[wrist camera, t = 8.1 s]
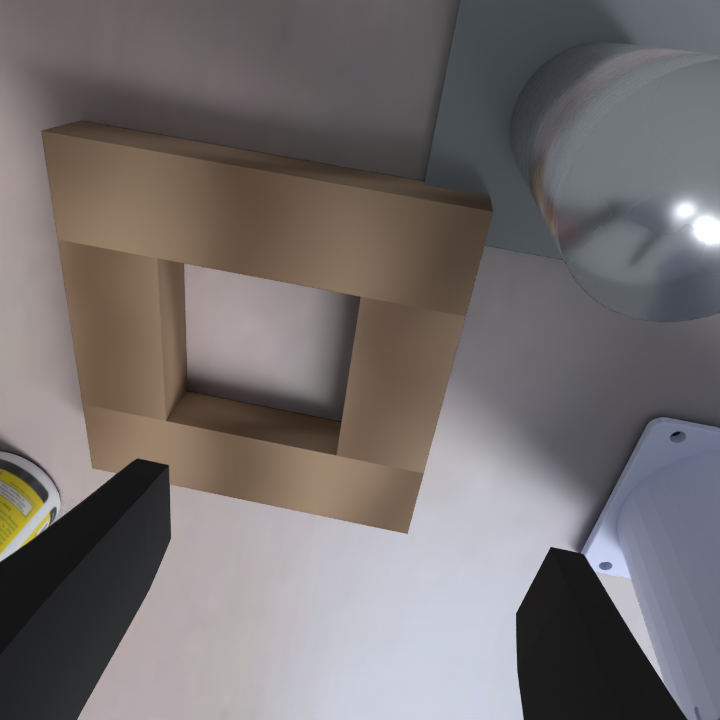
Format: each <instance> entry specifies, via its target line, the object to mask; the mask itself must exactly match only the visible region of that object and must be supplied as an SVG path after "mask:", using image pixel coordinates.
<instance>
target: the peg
mask: <svg viewBox="0 0 720 720" xmlns="http://www.w3.org/2000/svg"><path fill="white" fill-rule="evenodd" d="M510 143H511V149H512V153H513V156H514V159H515V162H516V164H517V166H518V168H519V170H520V172H521V174H522V176H523V178H524V180H525V182H526V184H527V186H528V188H529V190H530V192H531V194H532V196H533V198H534V200H535V202H536V204H537V206H538V208H539V210H540V212H541V214H542V216H543V218H544V220H545V222H546V224H547V227H548V229H549V231H550V233H551V235H552V237H553V239H554V241H555V243H556V245H557V247H558V249H559V251H560V253H561V255H562V257H563V259H564V261H565V263H566V265H567V267H568V269H569V270H570V272H571V274H572V276H573V277H574V279H575V280H576V281H577V283H578V284H579V285H580V287H581V288H582V289H583V290H584V291H585V292H586V293H588V294H589V295H590V296H591V297H592V298H593V299H595V300H596V301H597V302H599V303H600V304H602V305H603V306H605V307H607V308H609V309H611V310H613V311H615V312H617V313H620V314H623V315H626V316H628V317H632V318H637V319H641V320H648V321H657V322H677V321H685V320H693V319H698V318H702V317H707V316H711V315H714V314H717V313H720V55H717V54H708V53H700V52H691V51H683V50H674V49H665V48H657V47H648V46H640V45H631V44H622V43H614V42H601V41H599V42H588V43H584V44H579V45H576V46H574V47H571V48H568V49H566V50H564V51H562V52H560V53H558V54H557V55H555V56H554V57H552V58H551V59H549V60H548V61H547V62H545V63H544V64H543V65H542V66H541V67H540V68H539V69H538V70H537V71H536V72H535V73H534V74H533V75H532V76H531V78H530V79H529V80H528V82H527V83H526V84H525V86H524V88H523V89H522V91H521V93H520V95H519V97H518V99H517V102H516V104H515V107H514V110H513V114H512V118H511V124H510Z"/></svg>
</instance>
